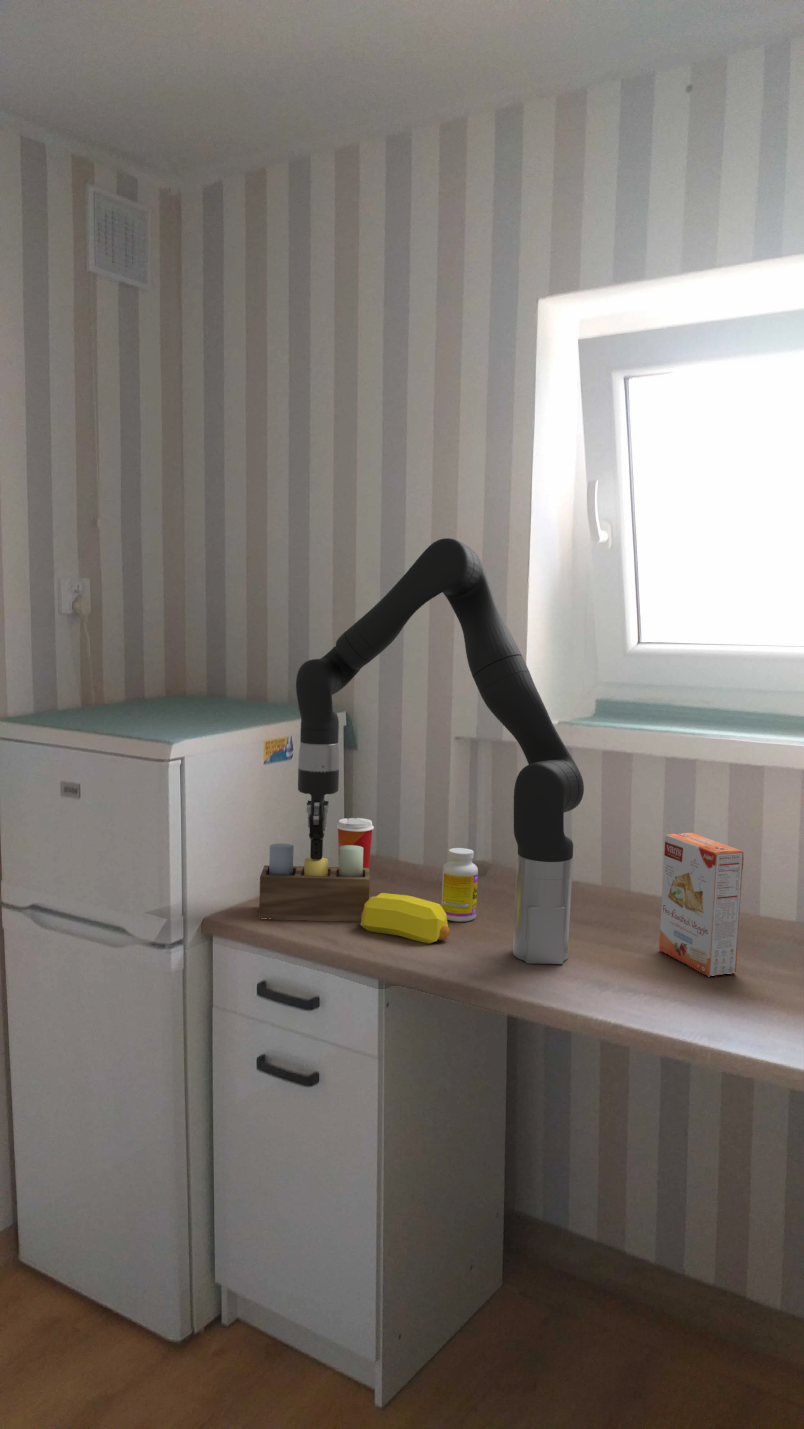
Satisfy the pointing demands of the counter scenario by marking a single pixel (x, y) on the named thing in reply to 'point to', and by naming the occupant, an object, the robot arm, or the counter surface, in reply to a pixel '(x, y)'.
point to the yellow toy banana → (405, 917)
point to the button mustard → (316, 867)
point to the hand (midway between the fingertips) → (316, 858)
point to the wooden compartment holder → (313, 896)
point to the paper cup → (356, 835)
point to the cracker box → (701, 903)
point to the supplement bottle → (460, 885)
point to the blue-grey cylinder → (281, 859)
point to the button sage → (351, 861)
